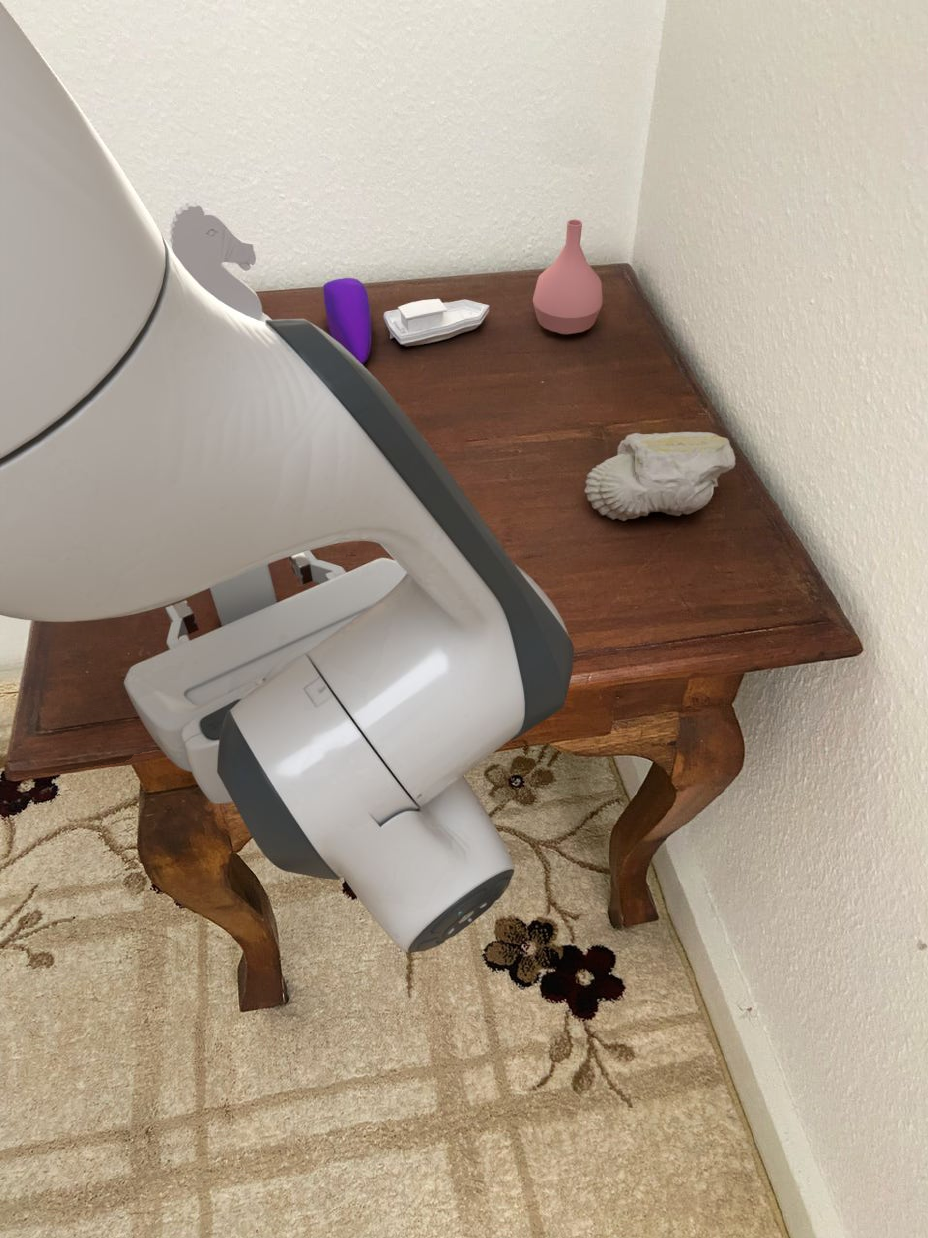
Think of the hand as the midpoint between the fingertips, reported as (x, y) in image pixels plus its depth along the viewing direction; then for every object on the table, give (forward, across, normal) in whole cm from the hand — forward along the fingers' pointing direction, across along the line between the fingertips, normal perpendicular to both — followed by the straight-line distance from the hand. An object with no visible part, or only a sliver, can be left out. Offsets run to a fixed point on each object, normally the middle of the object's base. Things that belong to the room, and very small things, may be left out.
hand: (239, 583), depth 63 cm
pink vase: (+24, -49, +7) cm, 55 cm away
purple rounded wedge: (+35, -28, +7) cm, 45 cm away
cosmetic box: (0, 0, +7) cm, 7 cm away
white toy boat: (+31, -37, +7) cm, 49 cm away
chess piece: (+43, -16, +7) cm, 47 cm away
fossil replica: (-5, -36, +7) cm, 37 cm away
